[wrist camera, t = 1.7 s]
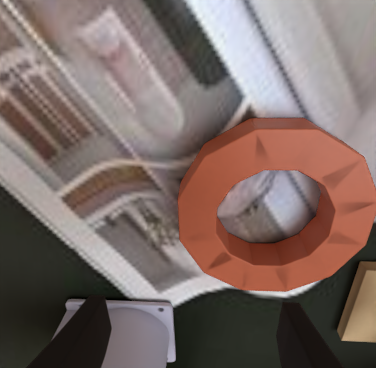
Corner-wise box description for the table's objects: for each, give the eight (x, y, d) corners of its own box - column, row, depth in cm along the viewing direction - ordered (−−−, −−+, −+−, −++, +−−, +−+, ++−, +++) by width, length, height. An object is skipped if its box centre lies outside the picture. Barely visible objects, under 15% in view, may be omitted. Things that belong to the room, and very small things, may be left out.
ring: (183, 264, 22) (181, 288, 20) (178, 118, 17) (174, 129, 15) (335, 269, 22) (349, 294, 19) (379, 117, 16) (405, 128, 14)
